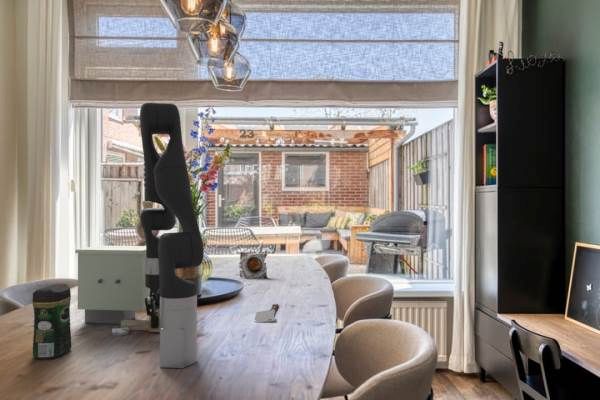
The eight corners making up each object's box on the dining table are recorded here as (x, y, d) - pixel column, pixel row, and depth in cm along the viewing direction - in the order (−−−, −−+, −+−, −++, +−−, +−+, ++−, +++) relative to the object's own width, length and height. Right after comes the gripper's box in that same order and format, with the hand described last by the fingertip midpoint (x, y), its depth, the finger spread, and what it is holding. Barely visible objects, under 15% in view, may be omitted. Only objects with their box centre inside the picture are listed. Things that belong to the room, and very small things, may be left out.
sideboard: (141, 328, 144) (142, 250, 144) (74, 326, 146) (74, 249, 146) (159, 317, 158) (159, 246, 158) (97, 316, 160) (97, 245, 160)
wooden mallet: (161, 331, 139) (161, 306, 139) (118, 330, 140) (118, 305, 140) (166, 328, 143) (166, 303, 143) (124, 327, 144) (124, 302, 144)
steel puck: (124, 336, 136) (124, 330, 136) (108, 336, 137) (108, 329, 137) (132, 331, 141) (132, 325, 141) (117, 331, 142) (117, 325, 142)
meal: (268, 277, 240) (268, 252, 240) (266, 278, 236) (266, 253, 236) (240, 276, 242) (240, 252, 242) (238, 278, 238) (238, 253, 238)
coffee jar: (47, 348, 126) (47, 281, 126) (75, 348, 125) (75, 282, 125) (26, 360, 116) (26, 288, 116) (56, 360, 116) (56, 289, 116)
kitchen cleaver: (258, 304, 176) (283, 303, 175) (258, 307, 176) (284, 306, 175) (246, 322, 152) (275, 321, 151) (246, 325, 152) (275, 324, 151)
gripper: (160, 275, 133) (160, 333, 133) (177, 268, 147) (177, 320, 147) (135, 275, 134) (135, 332, 134) (156, 267, 148) (156, 319, 148)
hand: (157, 325), depth 141 cm, fingers closed on wooden mallet, 4 cm apart
